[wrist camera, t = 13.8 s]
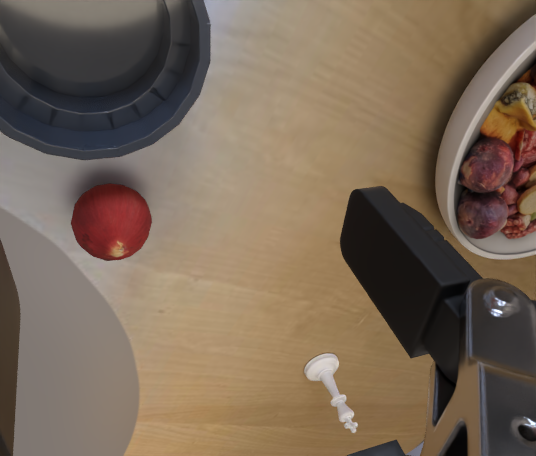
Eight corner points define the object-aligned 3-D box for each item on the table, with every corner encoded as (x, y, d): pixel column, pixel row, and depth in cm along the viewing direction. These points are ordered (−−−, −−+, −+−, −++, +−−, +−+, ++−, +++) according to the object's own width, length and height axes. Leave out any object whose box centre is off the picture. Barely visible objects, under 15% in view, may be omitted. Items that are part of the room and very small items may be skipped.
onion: (121, 232, 43) (132, 295, 37) (57, 208, 40) (57, 273, 34) (157, 182, 41) (174, 240, 35) (93, 152, 38) (100, 211, 32)
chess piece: (313, 352, 64) (347, 420, 57) (343, 353, 66) (379, 417, 59) (298, 377, 66) (328, 445, 59) (327, 376, 69) (360, 442, 61)
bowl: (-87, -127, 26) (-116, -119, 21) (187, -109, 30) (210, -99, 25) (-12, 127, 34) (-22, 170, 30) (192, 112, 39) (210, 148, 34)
